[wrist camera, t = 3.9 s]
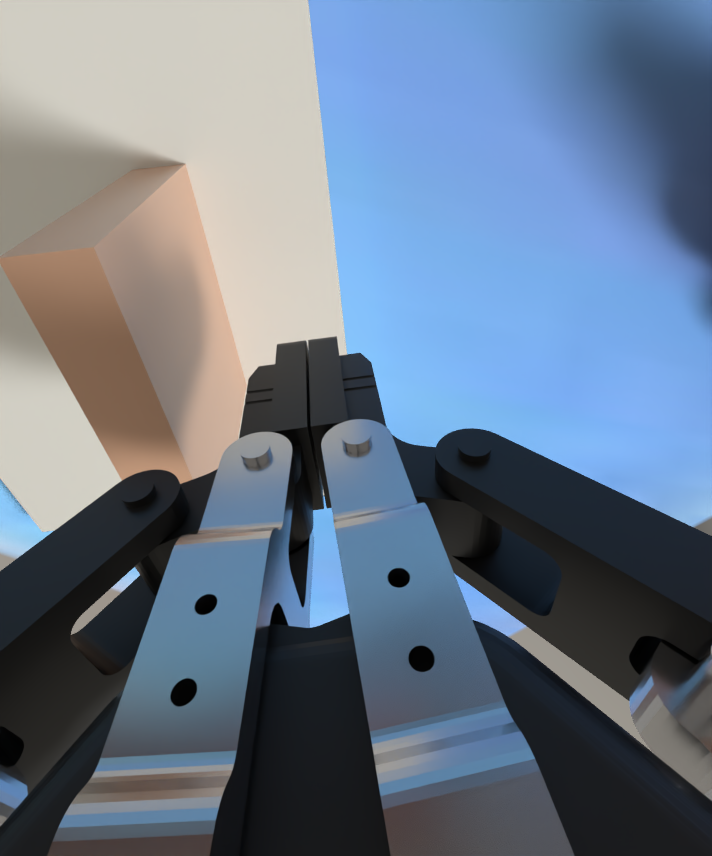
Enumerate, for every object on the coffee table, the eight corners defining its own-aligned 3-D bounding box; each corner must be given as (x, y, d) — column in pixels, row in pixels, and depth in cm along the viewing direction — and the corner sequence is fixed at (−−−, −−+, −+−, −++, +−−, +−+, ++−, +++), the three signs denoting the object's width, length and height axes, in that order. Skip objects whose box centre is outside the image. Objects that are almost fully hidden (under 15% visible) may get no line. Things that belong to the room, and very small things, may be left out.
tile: (127, 170, 14) (-13, 260, 8) (185, 163, 14) (93, 246, 8) (204, 390, 19) (156, 552, 13) (246, 385, 19) (220, 544, 13)
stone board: (-446, -146, 10) (-508, -164, 9) (283, -215, 11) (282, -238, 10) (50, 516, 24) (42, 531, 23) (360, 477, 24) (361, 490, 23)
